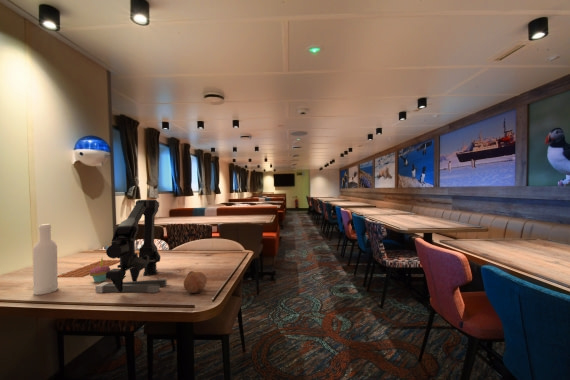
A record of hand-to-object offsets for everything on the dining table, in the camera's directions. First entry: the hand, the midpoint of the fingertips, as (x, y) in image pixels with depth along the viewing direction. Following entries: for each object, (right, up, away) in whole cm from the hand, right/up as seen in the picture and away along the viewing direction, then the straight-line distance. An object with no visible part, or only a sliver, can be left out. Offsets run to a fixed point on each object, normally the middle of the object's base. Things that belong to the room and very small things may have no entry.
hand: (127, 287), depth 108 cm
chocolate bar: (-42, -3, +33) cm, 54 cm away
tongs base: (+1, -1, 0) cm, 2 cm away
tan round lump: (+31, -1, -3) cm, 31 cm away
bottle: (-37, -2, +1) cm, 37 cm away
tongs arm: (+2, -1, +3) cm, 4 cm away
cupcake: (-22, -2, +13) cm, 26 cm away
